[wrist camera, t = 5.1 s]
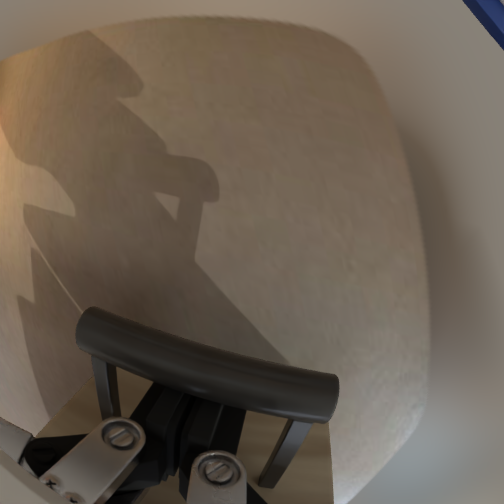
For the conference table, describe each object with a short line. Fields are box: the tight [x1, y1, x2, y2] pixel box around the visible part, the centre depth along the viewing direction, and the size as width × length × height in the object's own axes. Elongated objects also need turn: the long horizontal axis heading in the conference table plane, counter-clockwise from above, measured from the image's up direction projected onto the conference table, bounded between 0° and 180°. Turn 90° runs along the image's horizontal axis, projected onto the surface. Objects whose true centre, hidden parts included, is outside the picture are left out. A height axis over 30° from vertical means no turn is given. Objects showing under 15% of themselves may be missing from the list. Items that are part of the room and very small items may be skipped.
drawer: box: [35, 307, 339, 504], centre depth 10 cm, size 19×11×8 cm, turn 168°
